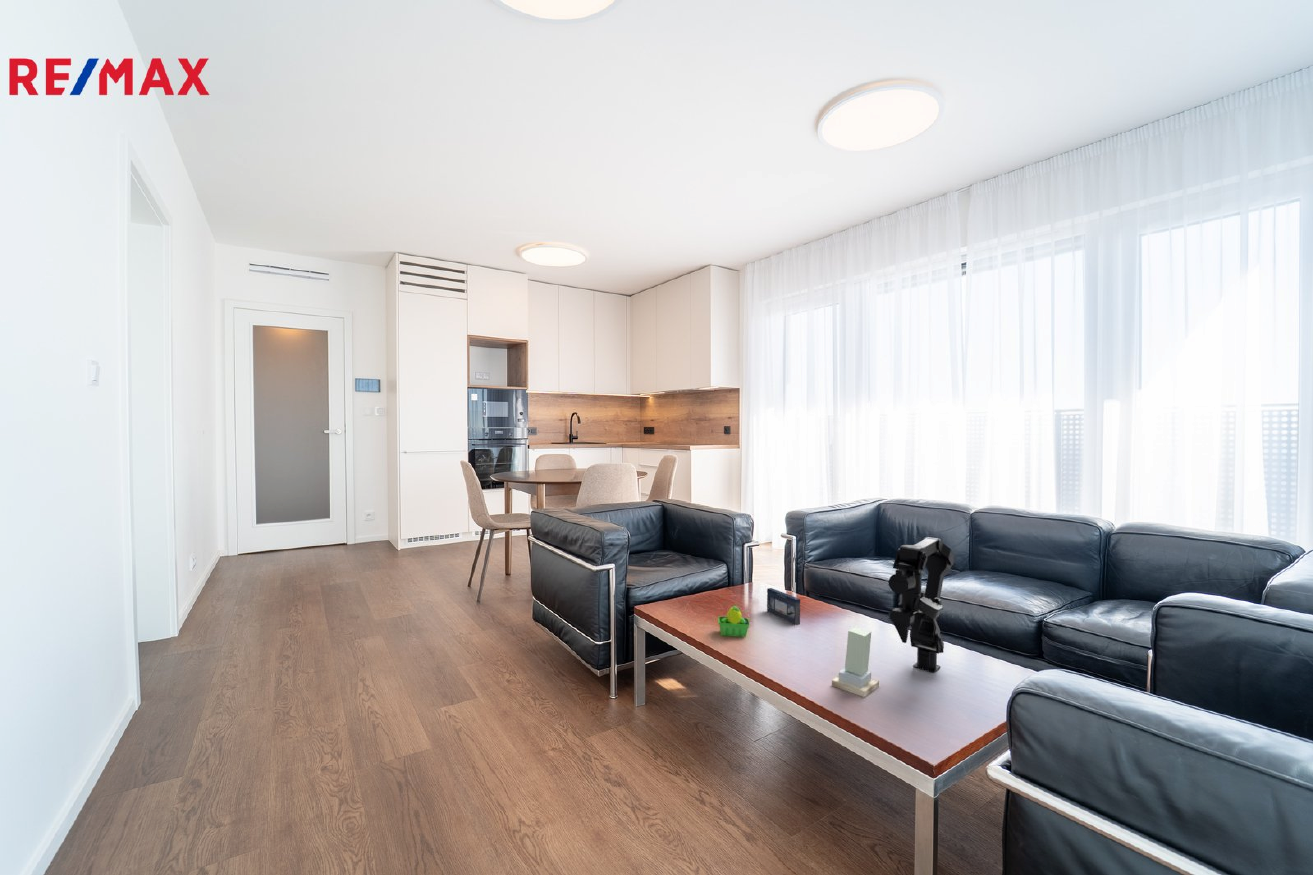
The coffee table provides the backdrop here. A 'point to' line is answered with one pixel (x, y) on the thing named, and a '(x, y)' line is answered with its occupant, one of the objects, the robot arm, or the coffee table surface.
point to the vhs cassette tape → (783, 606)
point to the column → (858, 651)
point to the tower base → (854, 689)
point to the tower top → (854, 678)
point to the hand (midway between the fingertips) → (910, 638)
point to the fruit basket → (733, 623)
